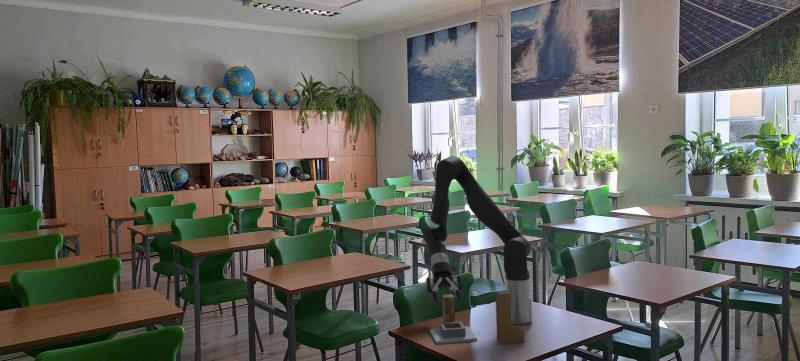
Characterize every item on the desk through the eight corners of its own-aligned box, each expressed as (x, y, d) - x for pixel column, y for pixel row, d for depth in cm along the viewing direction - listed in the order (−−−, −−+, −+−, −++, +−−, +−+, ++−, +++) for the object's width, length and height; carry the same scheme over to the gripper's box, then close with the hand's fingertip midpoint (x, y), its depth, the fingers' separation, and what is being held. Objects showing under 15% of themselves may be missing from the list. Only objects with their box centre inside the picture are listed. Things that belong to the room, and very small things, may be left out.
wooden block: (520, 338, 215) (519, 289, 213) (524, 342, 210) (523, 292, 209) (496, 340, 214) (495, 291, 212) (500, 344, 209) (498, 294, 208)
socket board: (468, 328, 227) (468, 318, 227) (477, 340, 214) (476, 330, 213) (429, 331, 226) (429, 321, 225) (436, 344, 212) (435, 333, 212)
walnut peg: (453, 324, 234) (452, 294, 233) (455, 327, 230) (454, 296, 229) (443, 324, 233) (442, 294, 233) (445, 328, 229) (444, 297, 229)
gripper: (424, 262, 241) (429, 297, 231) (458, 260, 243) (465, 294, 232) (422, 272, 247) (428, 306, 236) (456, 270, 249) (463, 304, 238)
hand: (446, 300), depth 234 cm, fingers open, 8 cm apart
